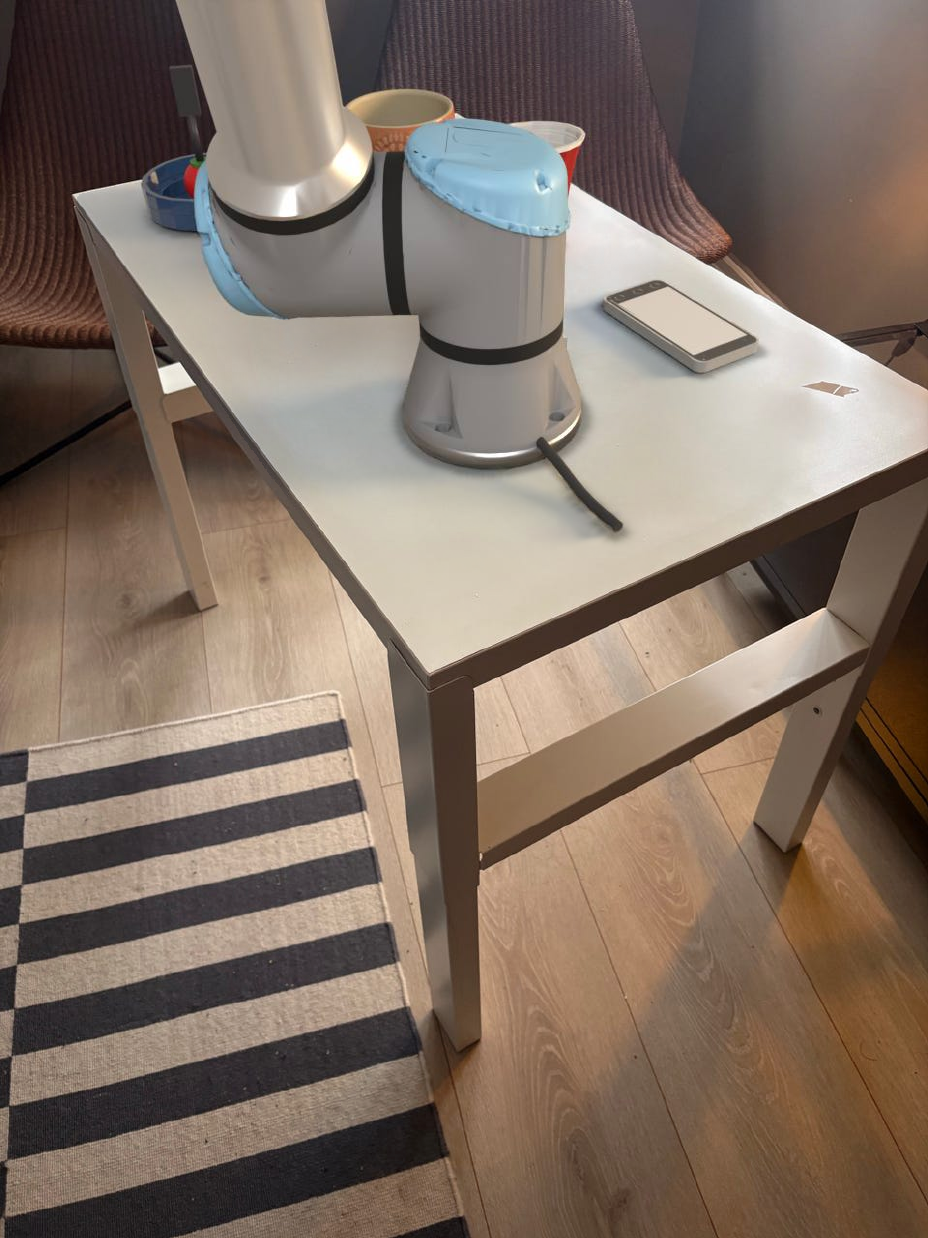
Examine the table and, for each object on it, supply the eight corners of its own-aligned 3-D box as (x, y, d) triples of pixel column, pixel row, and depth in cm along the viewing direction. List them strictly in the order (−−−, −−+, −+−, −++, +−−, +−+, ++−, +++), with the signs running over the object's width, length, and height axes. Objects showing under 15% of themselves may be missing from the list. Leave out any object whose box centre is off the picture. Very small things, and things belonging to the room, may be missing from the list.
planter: (339, 224, 116) (327, 124, 109) (370, 181, 125) (360, 85, 117) (444, 231, 114) (439, 130, 106) (467, 187, 123) (465, 90, 115)
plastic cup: (557, 218, 116) (561, 106, 107) (595, 257, 108) (602, 141, 100) (467, 234, 114) (464, 121, 105) (500, 275, 106) (499, 158, 98)
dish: (269, 229, 116) (263, 195, 113) (144, 240, 115) (135, 205, 112) (271, 180, 126) (265, 147, 123) (156, 190, 125) (147, 156, 122)
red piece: (228, 210, 119) (201, 71, 108) (187, 214, 118) (155, 74, 108) (230, 194, 122) (204, 57, 111) (190, 197, 122) (160, 60, 111)
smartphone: (659, 277, 102) (762, 340, 93) (658, 287, 103) (760, 350, 94) (600, 297, 100) (700, 364, 90) (599, 307, 100) (699, 374, 91)
